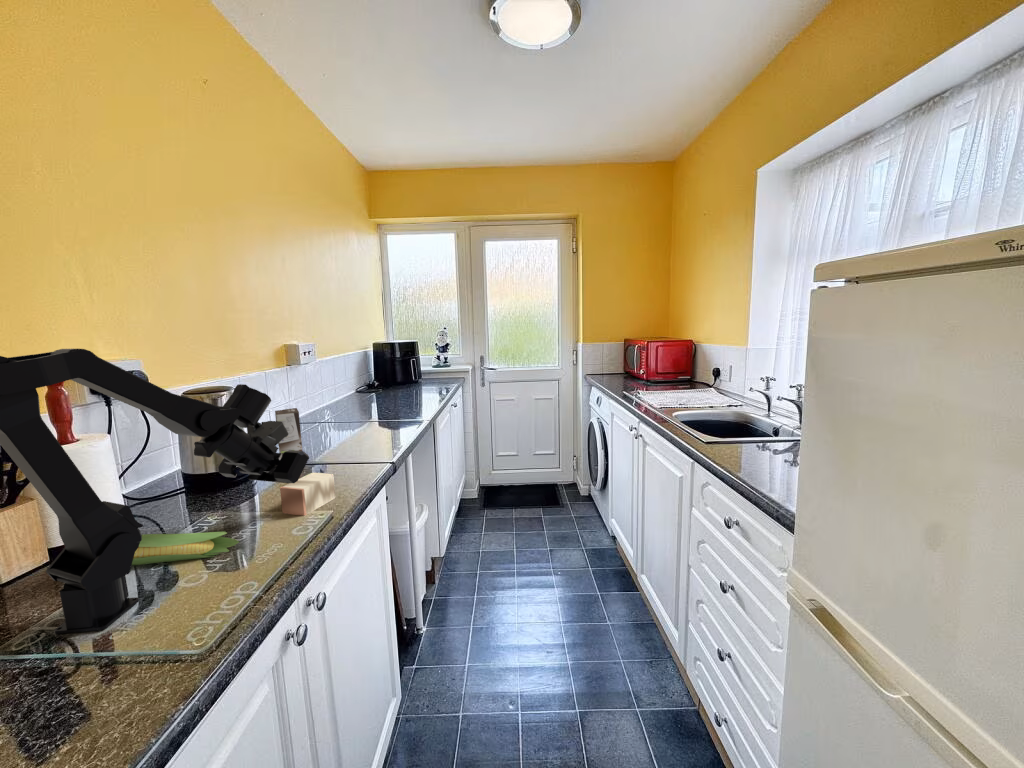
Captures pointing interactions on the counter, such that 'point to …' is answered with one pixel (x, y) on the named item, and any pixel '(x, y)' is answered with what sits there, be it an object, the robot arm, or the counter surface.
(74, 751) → the counter surface
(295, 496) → the marked block
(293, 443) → the coffee box
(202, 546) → the edible corn
